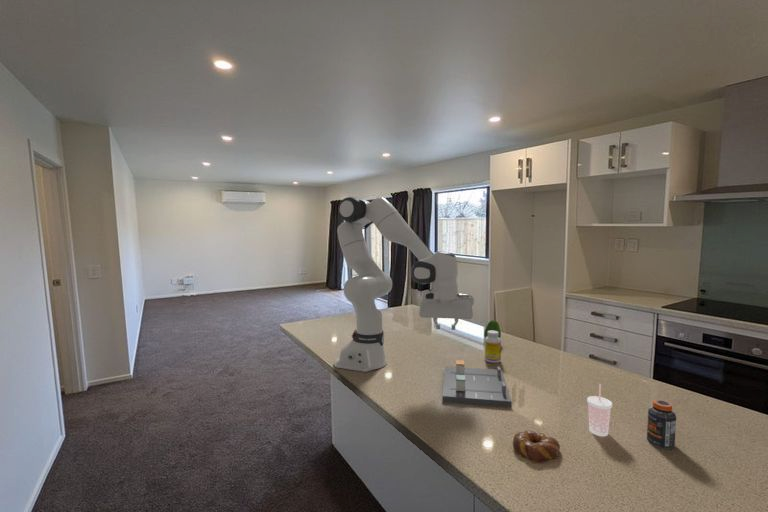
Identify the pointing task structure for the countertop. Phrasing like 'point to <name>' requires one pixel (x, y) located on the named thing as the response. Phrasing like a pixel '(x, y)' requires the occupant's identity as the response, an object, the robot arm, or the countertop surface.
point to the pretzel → (536, 446)
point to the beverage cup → (599, 414)
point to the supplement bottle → (492, 347)
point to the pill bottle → (661, 425)
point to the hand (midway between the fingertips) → (445, 329)
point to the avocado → (492, 328)
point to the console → (477, 387)
